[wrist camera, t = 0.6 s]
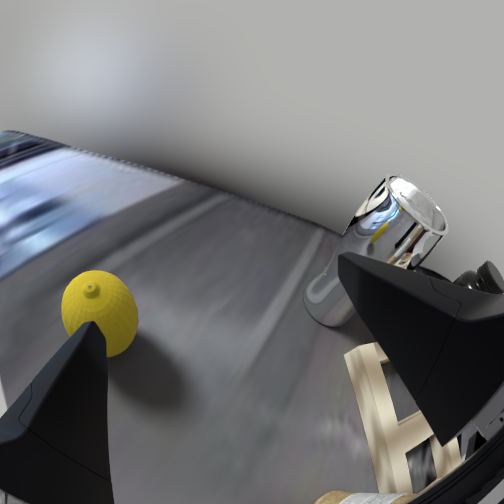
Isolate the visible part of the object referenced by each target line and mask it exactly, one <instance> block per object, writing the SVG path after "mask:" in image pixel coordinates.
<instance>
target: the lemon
mask: <svg viewBox="0 0 504 504" xmlns="http://www.w3.org/2000/svg"><path fill="white" fill-rule="evenodd" d="M62 319H63V323H64V325H65V328H66V331H67V333H68V335H69V336H70V337H71V336H72V335H73V334H74V333H75V331H76V330H77V329H78V328H79V327H80V326H81V325H82V324H83V323H84V322H88V321H92V320H93V321H95V322H96V323H97V325H98V327H99V328H100V330H101V331H102V333H103V334H104V336H105V338H106V343H107V357H113V356H115V355H118V354H120V353H122V352H123V351H124V350H126V349H127V348H128V346H129V345H130V344H131V343H132V341H133V339H134V337H135V335H136V332H137V327H138V311H137V307H136V304H135V301H134V298H133V296H132V294H131V293H130V291H129V290H128V288H127V287H126V285H125V284H124V283H123V282H122V281H121V280H120V279H119V278H117V277H116V276H114V275H112V274H110V273H107V272H104V271H96V270H93V271H87V272H84V273H82V274H80V275H78V276H77V277H76V278H74V279H73V280H72V281H71V283H70V284H69V285H68V286H67V288H66V290H65V292H64V295H63V300H62Z"/></svg>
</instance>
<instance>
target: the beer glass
mask: <svg viewBox="0 0 504 504" xmlns="http://www.w3.org/2000/svg"><path fill="white" fill-rule="evenodd" d="M447 233H448V223H447V220H446V218H445V216H444V214H443V213H442V211H441V209H440V208H439V207H438V205H437V204H436V203H435V201H434V200H433V199H432V198H431V197H430V196H429V195H428V194H427V193H426V192H425V191H424V190H423V189H422V188H420V187H419V186H418V185H417V184H415V183H414V182H413V181H411V180H409V179H408V178H406V177H404V176H402V175H400V174H396V173H388V174H387V175H386V177H385V178H384V179H383V180H382V182H381V183H380V184H379V185H378V186H377V188H376V189H375V190H374V191H373V192H372V193H371V195H370V196H369V197H368V198H367V199H366V201H365V202H364V203H363V204H362V206H361V207H360V208H359V210H358V211H357V213H356V214H355V215H354V217H353V218H352V220H351V222H350V223H349V225H348V227H347V228H346V230H345V232H344V234H343V236H342V238H341V240H340V242H339V244H338V246H337V248H336V250H335V252H334V254H333V256H332V258H331V260H330V262H329V263H328V265H327V266H326V267H325V269H324V270H323V271H322V272H320V273H319V274H318V275H316V276H315V277H314V278H312V279H311V280H310V281H309V282H308V283H307V284H306V286H305V288H304V292H303V299H304V303H305V306H306V308H307V310H308V312H309V313H310V314H311V316H312V317H313V318H314V319H315V320H317V321H318V322H319V323H321V324H323V325H326V326H329V327H339V326H342V325H344V324H345V323H346V322H348V321H349V319H350V318H351V317H352V316H353V314H354V313H355V311H356V309H355V308H354V306H353V304H352V302H351V300H350V298H349V296H348V295H347V293H346V291H345V289H344V287H343V285H342V284H341V282H340V280H339V277H338V255H339V254H341V253H344V252H348V251H349V252H353V253H356V254H359V255H363V256H366V257H369V258H373V259H376V260H379V261H382V262H385V263H389V264H392V265H395V266H398V267H401V268H405V269H408V270H411V271H414V270H415V269H416V268H417V267H418V266H419V265H420V264H421V263H422V262H423V261H424V260H425V259H426V258H427V256H428V255H429V254H430V253H431V252H432V251H433V249H434V248H435V247H436V246H437V244H438V243H439V242H440V241H441V239H442V238H443V237H444V236H445V235H446V234H447Z"/></svg>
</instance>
